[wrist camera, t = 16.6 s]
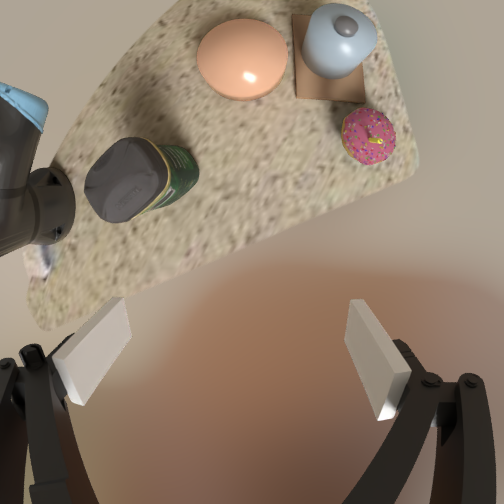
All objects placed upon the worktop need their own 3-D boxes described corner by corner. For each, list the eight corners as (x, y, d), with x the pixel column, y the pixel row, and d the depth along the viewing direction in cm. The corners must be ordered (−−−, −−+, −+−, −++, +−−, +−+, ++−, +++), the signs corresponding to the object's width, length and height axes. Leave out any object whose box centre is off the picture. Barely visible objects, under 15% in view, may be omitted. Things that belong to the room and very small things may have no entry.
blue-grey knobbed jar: (303, 77, 37) (315, 49, 27) (299, 31, 35) (308, -5, 24) (358, 82, 37) (385, 58, 26) (352, 36, 35) (374, 5, 24)
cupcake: (366, 175, 42) (398, 178, 31) (323, 143, 41) (344, 134, 30) (391, 134, 40) (428, 126, 28) (350, 102, 39) (378, 82, 27)
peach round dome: (202, 103, 40) (195, 95, 35) (204, 35, 37) (198, 22, 32) (286, 100, 40) (289, 92, 35) (283, 32, 36) (285, 18, 31)
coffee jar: (179, 138, 42) (127, 120, 24) (208, 176, 43) (171, 180, 25) (135, 176, 44) (67, 183, 26) (162, 213, 45) (105, 240, 27)
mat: (296, 98, 39) (297, 96, 38) (291, 17, 35) (292, 14, 34) (363, 103, 39) (365, 102, 38) (354, 23, 35) (356, 21, 34)
